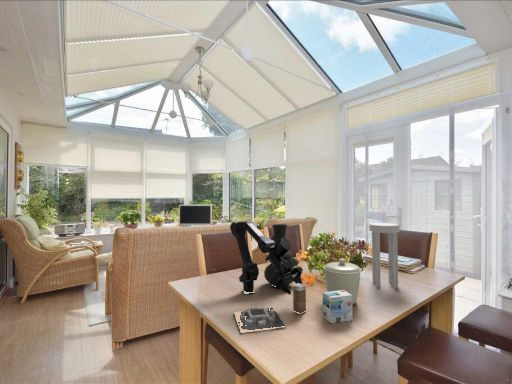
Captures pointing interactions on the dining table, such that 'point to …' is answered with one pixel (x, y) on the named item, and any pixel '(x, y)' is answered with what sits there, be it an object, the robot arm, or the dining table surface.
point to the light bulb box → (337, 306)
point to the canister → (343, 277)
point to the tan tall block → (299, 298)
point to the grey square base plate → (260, 318)
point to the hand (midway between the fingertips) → (296, 291)
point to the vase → (269, 272)
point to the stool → (392, 251)
